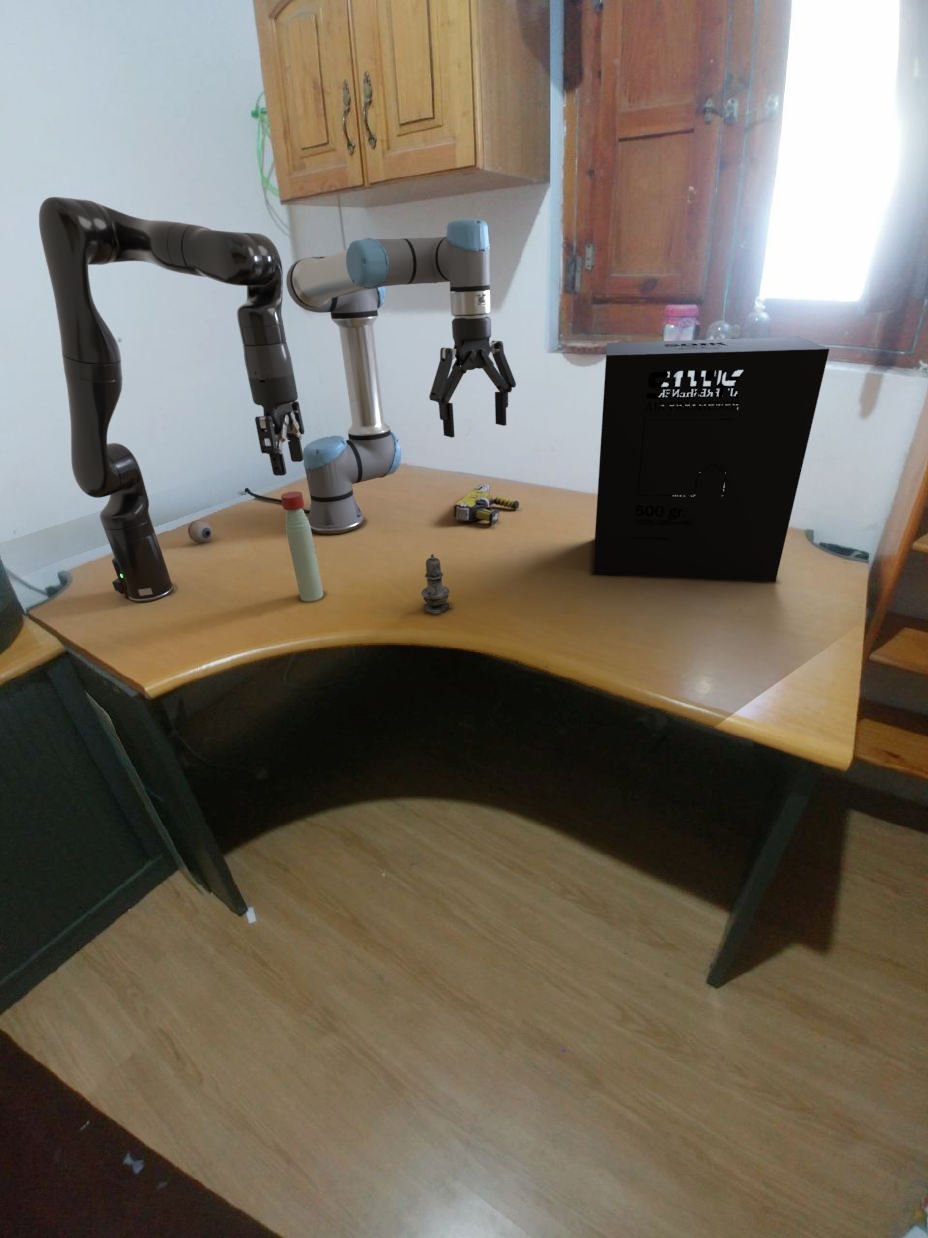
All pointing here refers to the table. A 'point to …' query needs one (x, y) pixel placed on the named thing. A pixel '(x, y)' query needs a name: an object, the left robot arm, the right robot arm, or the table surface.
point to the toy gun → (480, 505)
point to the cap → (292, 500)
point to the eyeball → (200, 531)
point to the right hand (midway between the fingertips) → (475, 430)
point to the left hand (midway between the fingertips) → (289, 467)
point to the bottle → (303, 555)
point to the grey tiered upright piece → (435, 588)
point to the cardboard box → (703, 455)
